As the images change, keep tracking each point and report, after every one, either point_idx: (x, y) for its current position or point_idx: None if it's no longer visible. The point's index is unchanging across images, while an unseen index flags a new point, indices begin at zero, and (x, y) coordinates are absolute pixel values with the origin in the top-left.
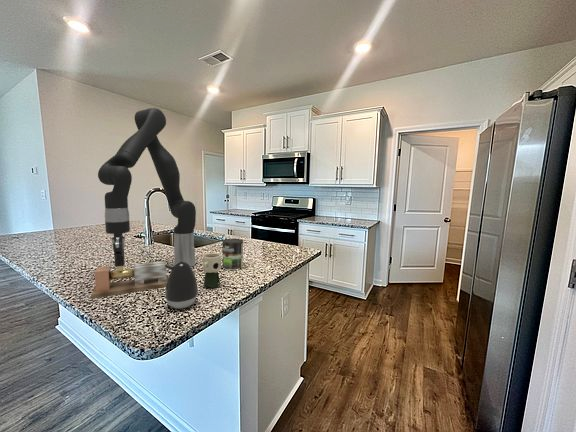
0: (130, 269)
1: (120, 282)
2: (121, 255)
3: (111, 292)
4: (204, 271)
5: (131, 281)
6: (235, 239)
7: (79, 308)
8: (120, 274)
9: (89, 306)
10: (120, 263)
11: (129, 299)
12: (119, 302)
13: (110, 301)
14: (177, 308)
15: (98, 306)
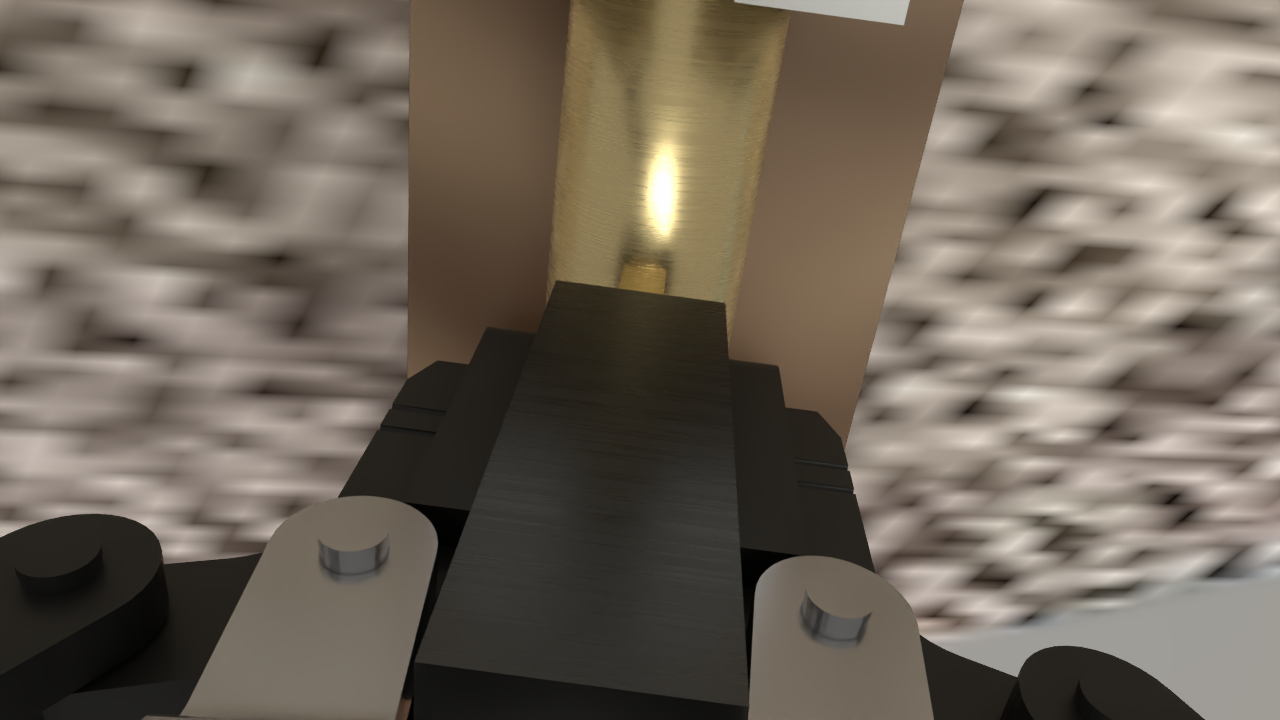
0: (677, 99)
1: (468, 196)
2: (1115, 692)
3: (870, 345)
4: None
5: (513, 8)
6: None
7: (1033, 620)
8: (732, 305)
9: (1055, 545)
10: (835, 466)
11: (1231, 108)
12: (1227, 248)
13: (1082, 346)
14: None
15: (1142, 470)
